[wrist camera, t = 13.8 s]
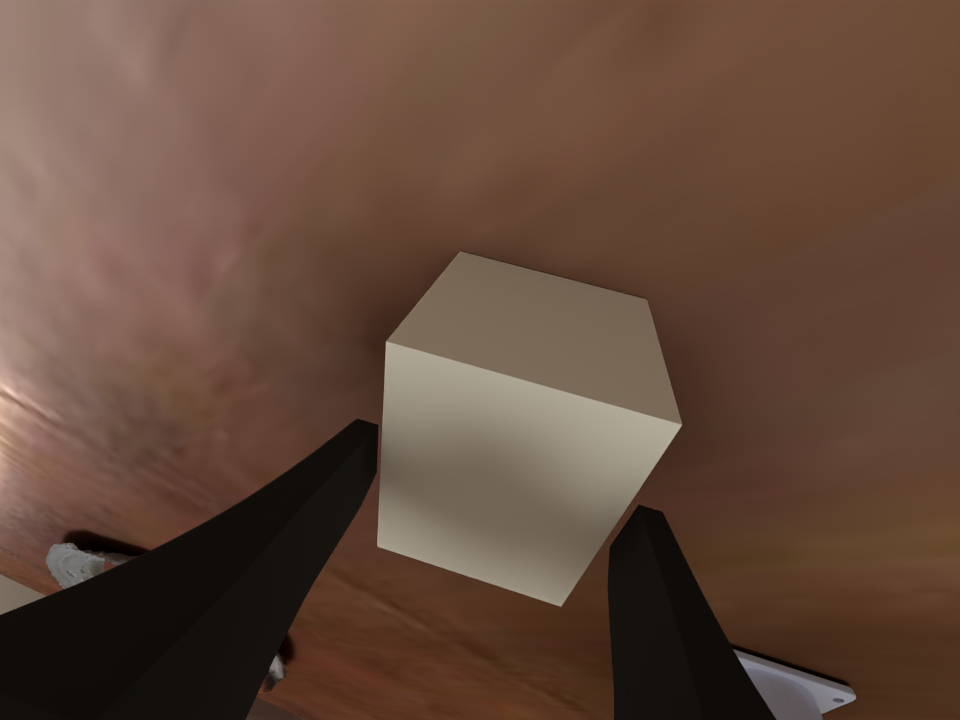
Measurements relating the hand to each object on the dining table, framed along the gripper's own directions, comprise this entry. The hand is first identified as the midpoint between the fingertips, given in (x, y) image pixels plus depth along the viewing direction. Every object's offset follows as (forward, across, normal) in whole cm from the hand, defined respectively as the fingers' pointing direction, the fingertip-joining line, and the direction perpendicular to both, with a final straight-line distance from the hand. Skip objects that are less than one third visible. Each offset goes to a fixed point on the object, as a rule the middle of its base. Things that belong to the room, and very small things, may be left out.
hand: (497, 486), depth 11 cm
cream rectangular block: (+5, 0, 0) cm, 5 cm away
